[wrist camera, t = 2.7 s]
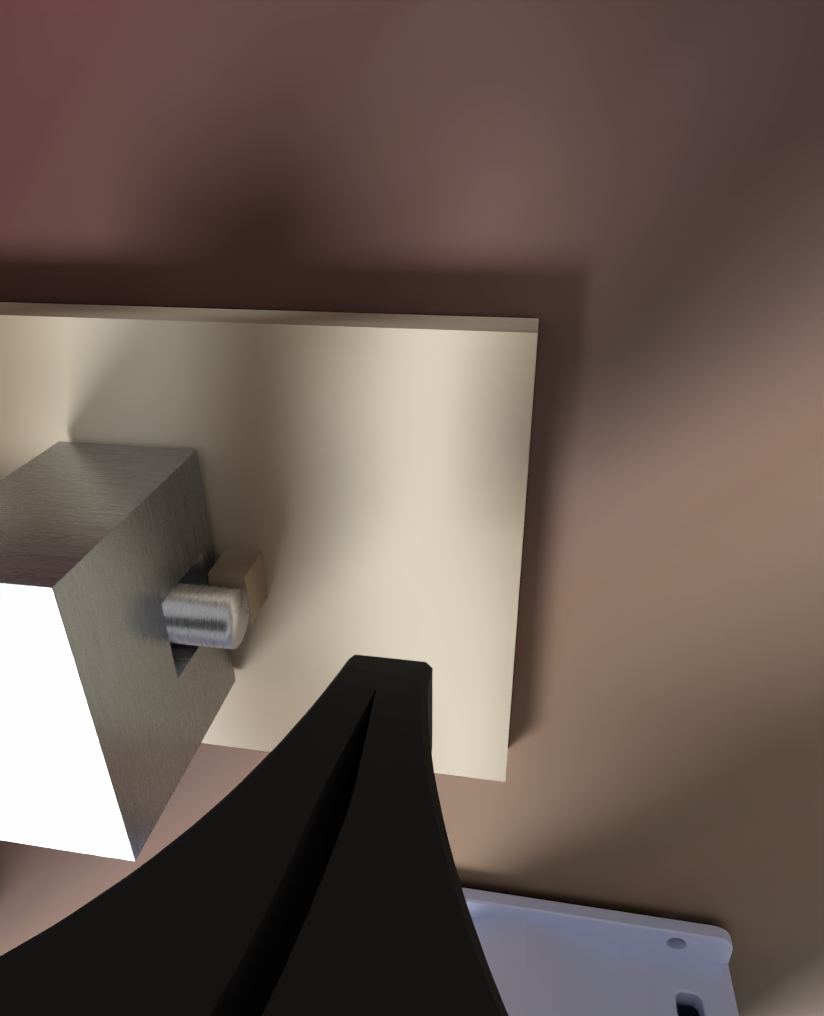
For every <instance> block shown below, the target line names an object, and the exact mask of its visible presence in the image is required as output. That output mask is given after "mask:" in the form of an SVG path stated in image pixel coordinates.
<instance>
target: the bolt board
mask: <svg viewBox="0 0 824 1016" xmlns="http://www.w3.org/2000/svg"><path fill="white" fill-rule="evenodd" d="M538 324H539V318H508V317H476V316H443V315H410V314H377V313H344V312H311V311H278V310H245V309H212V308H179V307H146V306H113V305H80V304H47V303H14V302H0V480H2V479H3V478H5V477H6V476H8V475H9V474H11V473H12V472H14V471H15V470H17V469H18V468H20V467H21V466H23V465H24V464H26V463H27V462H29V461H30V460H32V459H33V458H35V457H36V456H38V455H39V454H41V453H42V452H44V451H45V450H47V449H48V448H50V447H51V446H53V445H54V444H56V443H57V442H59V441H63V442H79V443H95V444H111V445H127V446H144V447H160V448H176V449H192V450H197V454H198V460H199V466H200V472H201V478H202V483H203V489H204V495H205V501H206V507H207V513H208V519H209V525H210V531H211V537H212V543H213V549H214V555H215V560H216V563H215V564H214V566H213V567H212V569H211V570H210V571H209V573H208V579H209V585H210V586H205V585H194V584H183V583H178V584H177V585H176V587H175V588H174V589H173V590H172V592H171V593H170V594H169V595H168V597H167V598H166V599H165V600H164V602H163V603H162V604H161V605H162V609H163V614H164V619H165V623H166V628H167V632H168V637H169V641H170V643H177V644H186V645H196V646H205V647H215V648H224V649H231V655H232V661H233V667H234V673H235V679H236V681H235V683H234V685H233V686H232V688H231V690H230V692H229V693H228V695H227V697H226V699H225V701H224V702H223V704H222V706H221V708H220V710H219V711H218V713H217V715H216V717H215V719H214V720H213V722H212V724H211V726H210V728H209V729H208V731H207V733H206V735H205V737H204V738H203V740H202V742H201V743H207V744H214V745H222V746H230V747H238V748H245V749H253V750H261V751H269V752H271V751H272V750H273V749H274V748H275V747H276V746H277V745H278V744H279V743H280V742H281V741H282V740H283V738H284V737H285V736H286V735H287V734H288V733H289V732H290V731H291V729H292V728H293V727H294V726H295V725H296V724H297V723H298V722H299V720H300V719H301V718H302V717H303V716H304V715H305V714H306V712H307V711H308V710H309V709H310V708H311V707H312V705H313V704H314V703H315V702H316V701H317V699H318V698H319V697H320V696H321V694H322V693H323V692H324V691H325V690H326V688H327V687H328V686H329V684H330V683H331V682H332V681H333V679H334V678H335V677H336V675H337V674H338V673H339V672H340V670H341V669H342V668H343V666H344V665H345V664H346V662H347V661H348V659H350V658H351V657H352V656H354V655H364V656H374V657H383V658H393V659H402V660H412V661H421V662H427V663H428V664H429V665H430V666H431V667H432V668H433V672H432V761H433V769H434V773H440V774H448V775H456V776H464V777H472V778H479V779H487V780H495V781H503V782H505V778H506V764H507V751H508V737H509V723H510V709H511V696H512V682H513V668H514V654H515V641H516V627H517V613H518V599H519V586H520V572H521V558H522V544H523V531H524V517H525V503H526V489H527V476H528V462H529V448H530V435H531V421H532V407H533V393H534V380H535V366H536V352H537V338H538Z"/></svg>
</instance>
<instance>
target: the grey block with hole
mask: <svg viewBox="0 0 824 1016" xmlns="http://www.w3.org/2000/svg"><path fill="white" fill-rule="evenodd" d="M215 563H216V560H215V555H214V549H213V543H212V537H211V531H210V525H209V519H208V513H207V507H206V501H205V495H204V489H203V483H202V478H201V472H200V466H199V460H198V454H197V450H192V449H176V448H160V447H144V446H127V445H111V444H95V443H79V442H63V441H59V442H57V443H56V444H54V445H53V446H51V447H50V448H48V449H47V450H45V451H44V452H42V453H41V454H39V455H38V456H36V457H35V458H33V459H32V460H30V461H29V462H27V463H26V464H24V465H23V466H21V467H20V468H18V469H17V470H15V471H14V472H12V473H11V474H9V475H8V476H6V477H5V478H3V479H2V480H0V840H3V841H9V842H15V843H22V844H28V845H34V846H41V847H47V848H53V849H60V850H66V851H73V852H79V853H85V854H92V855H98V856H104V857H111V858H117V859H123V860H130V861H136V859H137V857H138V855H139V853H140V852H141V850H142V848H143V846H144V844H145V843H146V841H147V839H148V837H149V835H150V834H151V832H152V830H153V828H154V826H155V825H156V823H157V821H158V819H159V817H160V816H161V814H162V812H163V810H164V808H165V807H166V805H167V803H168V801H169V800H170V798H171V796H172V794H173V792H174V791H175V789H176V787H177V785H178V783H179V782H180V780H181V778H182V776H183V774H184V773H185V771H186V769H187V767H188V765H189V764H190V762H191V760H192V758H193V756H194V755H195V753H196V751H197V749H198V747H199V746H200V744H201V742H202V740H203V738H204V737H205V735H206V733H207V731H208V729H209V728H210V726H211V724H212V722H213V720H214V719H215V717H216V715H217V713H218V711H219V710H220V708H221V706H222V704H223V702H224V701H225V699H226V697H227V695H228V693H229V692H230V690H231V688H232V686H233V685H234V683H235V681H236V679H235V673H234V667H233V661H232V655H231V649H224V648H215V647H205V646H196V645H186V644H177V643H170V641H169V637H168V632H167V628H166V623H165V619H164V614H163V609H162V605H161V604H162V603H163V602H164V600H165V599H166V598H167V597H168V595H169V594H170V593H171V592H172V590H173V589H174V588H175V587H176V585H177V584H178V583H183V584H194V585H205V586H210V585H209V579H208V573H209V571H210V570H211V569H212V567H213V566H214V564H215Z"/></svg>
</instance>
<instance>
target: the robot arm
mask: <svg viewBox="0 0 824 1016" xmlns="http://www.w3.org/2000/svg"><path fill="white" fill-rule="evenodd" d="M432 672H433V668H432V667H431V666H430V665H429V664H428V663H427V662H421V661H412V660H402V659H393V658H383V657H374V656H364V655H354V656H352V657H351V658H350V659H348V661H347V662H346V664H345V665H344V666H343V668H342V669H341V670H340V672H339V673H338V674H337V675H336V677H335V678H334V679H333V681H332V682H331V683H330V684H329V686H328V687H327V688H326V690H325V691H324V692H323V693H322V694H321V696H320V697H319V698H318V699H317V701H316V702H315V703H314V704H313V705H312V707H311V708H310V709H309V710H308V711H307V712H306V714H305V715H304V716H303V717H302V718H301V719H300V720H299V722H298V723H297V724H296V725H295V726H294V727H293V728H292V729H291V731H290V732H289V733H288V734H287V735H286V736H285V737H284V738H283V740H282V741H281V742H280V743H279V744H278V745H277V746H276V747H275V748H274V749H273V750H272V751H271V752H270V753H269V754H268V755H267V756H266V757H265V758H264V759H263V760H262V761H261V763H260V764H259V765H258V766H257V767H256V768H255V769H254V770H253V771H252V772H251V773H250V774H249V775H248V776H247V777H246V778H245V779H244V780H243V781H242V782H241V783H240V784H239V785H238V786H236V787H235V788H234V789H233V790H232V791H231V792H230V793H229V794H228V795H227V796H226V797H225V798H224V799H223V800H221V801H220V802H219V803H218V804H217V805H216V806H215V807H214V808H213V809H211V810H210V811H209V812H208V813H207V814H206V815H204V816H203V817H202V818H201V819H200V820H199V821H197V822H196V823H195V824H194V825H193V826H192V827H190V828H189V829H188V830H187V831H185V832H184V833H183V834H182V835H180V836H179V837H178V838H177V839H175V840H174V841H173V842H172V843H170V844H169V845H168V846H167V847H165V848H164V849H163V850H162V851H160V852H159V853H158V854H156V855H155V856H154V857H153V858H151V859H150V860H149V861H147V862H146V863H145V864H143V865H142V866H141V867H139V868H138V869H137V870H135V871H134V872H132V873H131V874H130V875H128V876H127V877H125V878H124V879H122V880H121V881H120V882H118V883H117V884H115V885H114V886H112V887H111V888H109V889H108V890H106V891H105V892H103V893H102V894H100V895H99V896H97V897H96V898H94V899H93V900H91V901H90V902H88V903H87V904H86V905H84V906H83V907H81V908H80V909H78V910H77V911H75V912H74V913H72V914H71V915H69V916H68V917H66V918H64V919H63V920H61V921H60V922H58V923H56V924H55V925H53V926H52V927H50V928H48V929H47V930H45V931H43V932H42V933H40V934H38V935H36V936H35V937H33V938H31V939H29V940H28V941H26V942H24V943H23V944H21V945H19V946H17V947H16V948H14V949H12V950H10V951H9V952H7V953H5V954H4V955H2V956H0V1016H739V1014H738V1009H737V1004H736V999H735V994H734V989H733V985H732V980H731V975H730V970H729V965H728V963H729V960H730V957H731V954H732V952H733V946H732V941H731V936H730V934H729V933H728V932H727V931H726V930H724V929H722V928H721V927H717V926H713V925H707V924H700V923H693V922H687V921H680V920H674V919H667V918H660V917H654V916H647V915H641V914H634V913H628V912H621V911H614V910H608V909H601V908H595V907H588V906H582V905H575V904H568V903H562V902H555V901H549V900H542V899H535V898H529V897H522V896H516V895H509V894H503V893H496V892H489V891H483V890H476V889H470V888H463V887H461V884H460V880H459V877H458V874H457V870H456V867H455V863H454V860H453V856H452V852H451V848H450V845H449V841H448V837H447V833H446V829H445V824H444V820H443V816H442V811H441V806H440V801H439V796H438V792H437V786H436V781H435V775H434V769H433V761H432Z"/></svg>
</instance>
